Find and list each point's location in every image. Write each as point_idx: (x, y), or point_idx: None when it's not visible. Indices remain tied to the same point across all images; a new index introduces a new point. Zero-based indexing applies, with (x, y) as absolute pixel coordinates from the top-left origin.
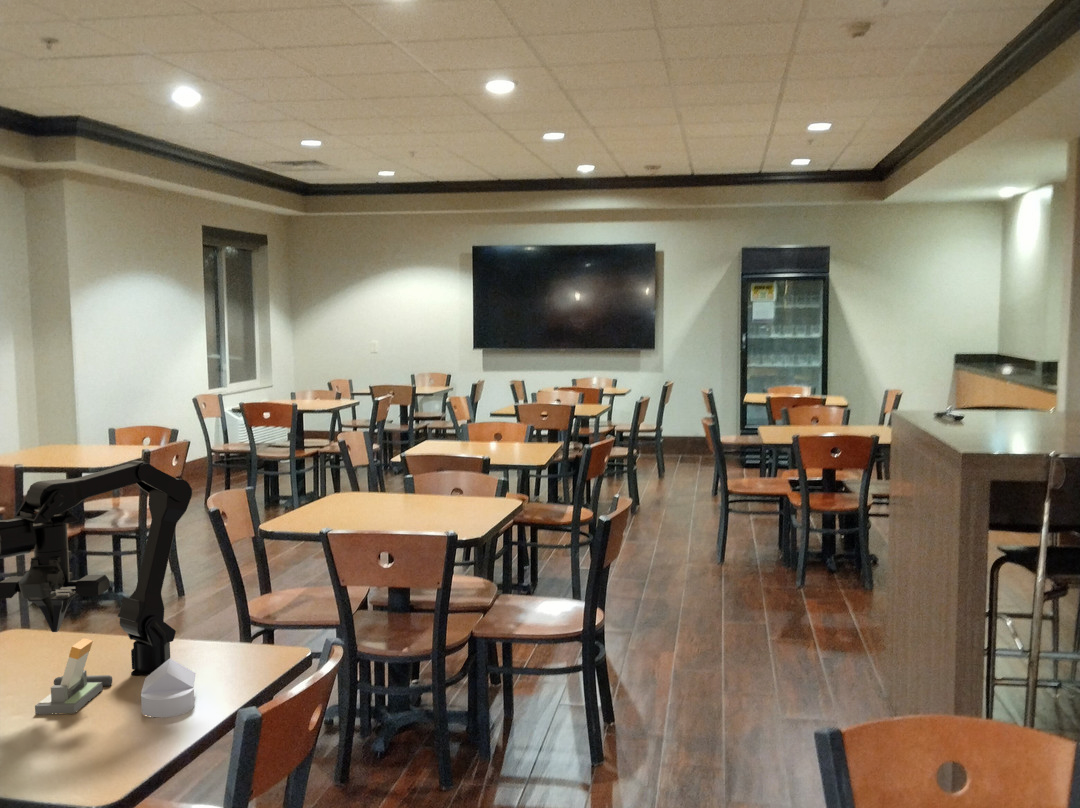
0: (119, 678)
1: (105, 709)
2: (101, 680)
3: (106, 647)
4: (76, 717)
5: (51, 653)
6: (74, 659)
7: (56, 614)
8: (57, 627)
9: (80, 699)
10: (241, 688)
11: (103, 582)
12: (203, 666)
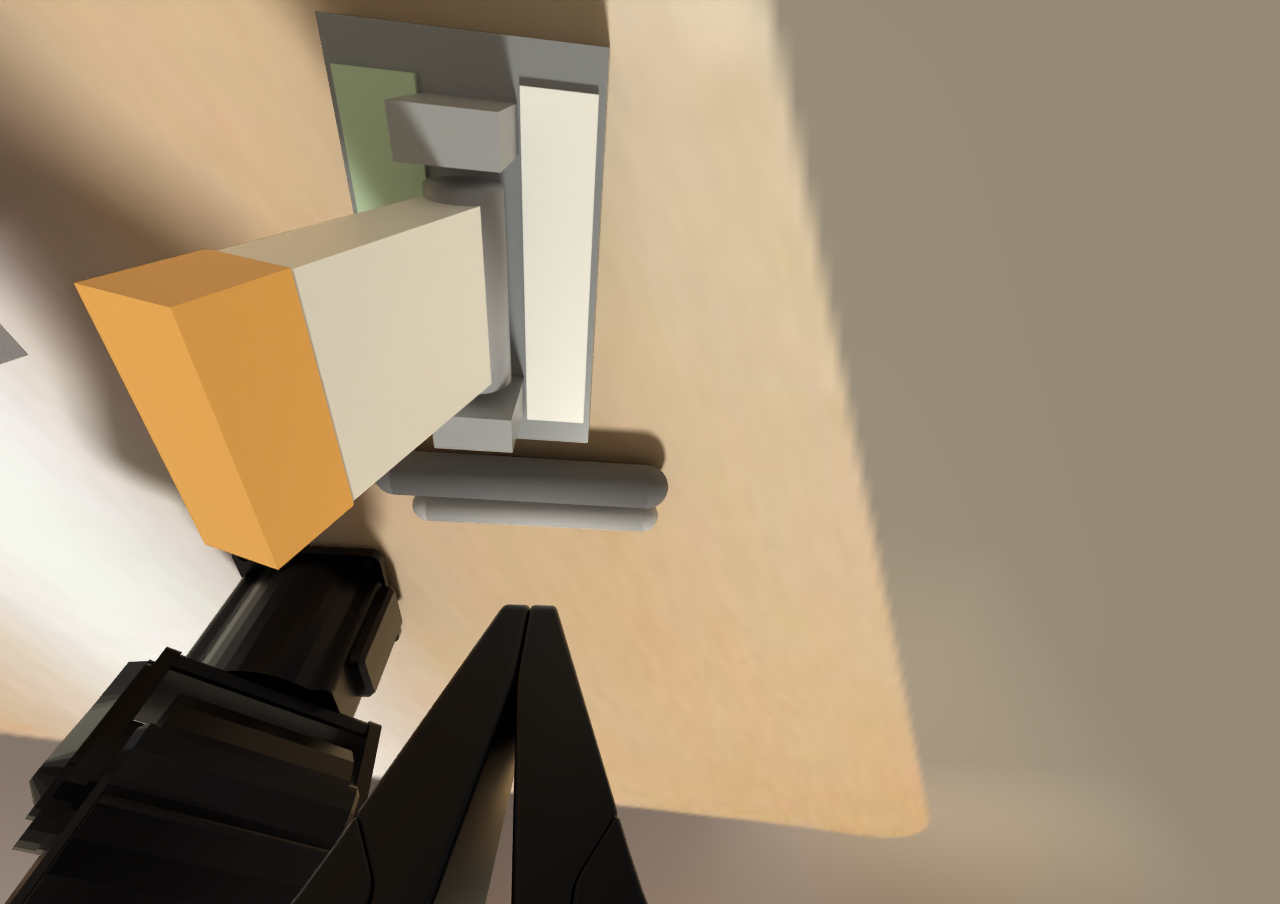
0: (417, 529)
1: (182, 86)
2: (427, 463)
3: (621, 751)
4: None
5: (779, 727)
6: (243, 253)
7: (388, 849)
8: (475, 649)
9: (345, 146)
10: None
11: None
12: (138, 608)
